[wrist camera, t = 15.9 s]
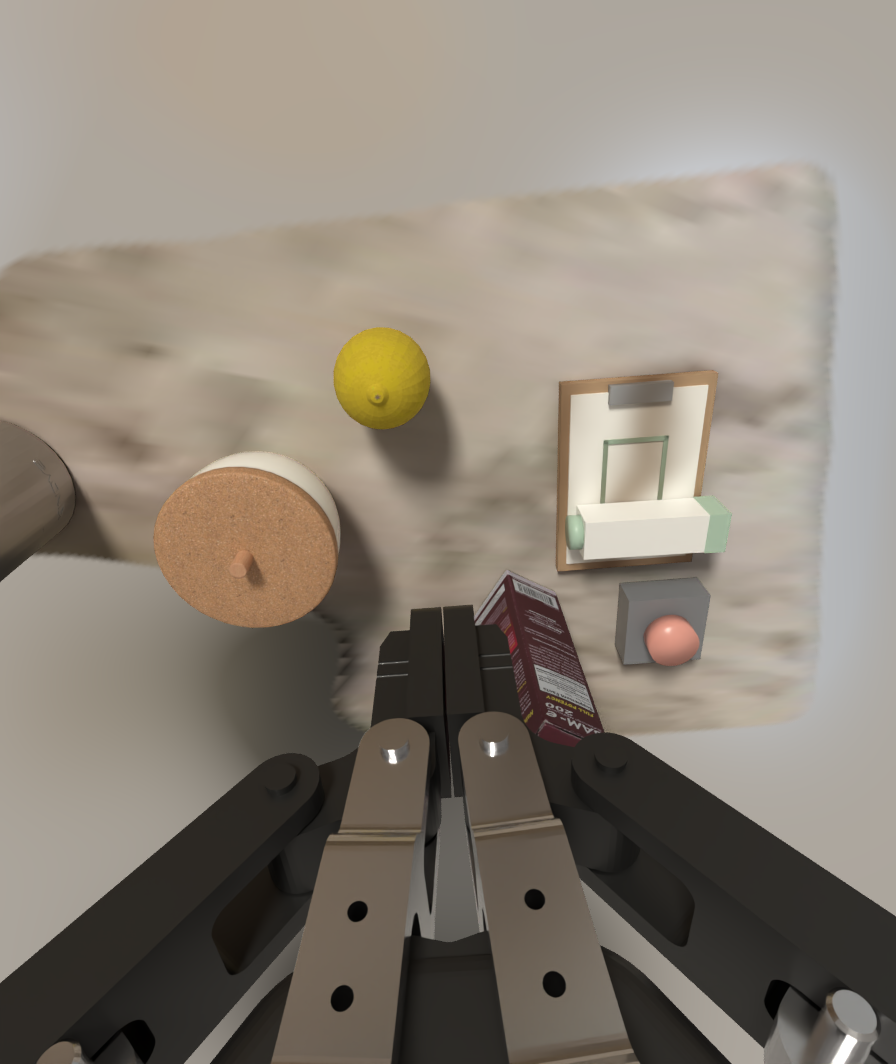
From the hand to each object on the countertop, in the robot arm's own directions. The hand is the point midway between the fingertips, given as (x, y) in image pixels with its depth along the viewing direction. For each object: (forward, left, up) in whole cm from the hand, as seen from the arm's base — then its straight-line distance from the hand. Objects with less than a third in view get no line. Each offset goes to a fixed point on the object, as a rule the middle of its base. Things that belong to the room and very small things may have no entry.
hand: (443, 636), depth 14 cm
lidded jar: (-12, -8, -27) cm, 31 cm away
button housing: (+16, -20, -27) cm, 37 cm away
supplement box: (+4, -19, -27) cm, 34 cm away
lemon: (-3, +1, -27) cm, 27 cm away
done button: (+16, -20, -24) cm, 35 cm away
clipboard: (+13, -8, -27) cm, 31 cm away
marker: (+8, -11, -24) cm, 28 cm away
